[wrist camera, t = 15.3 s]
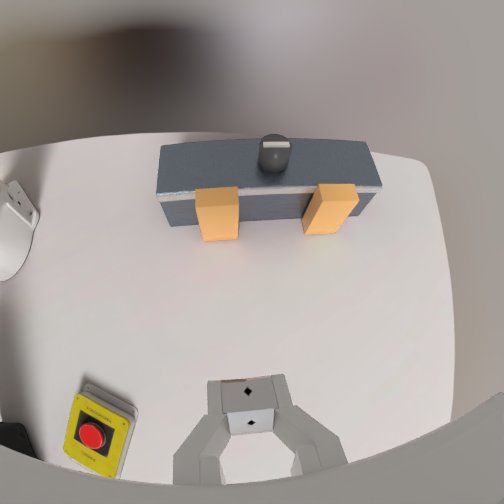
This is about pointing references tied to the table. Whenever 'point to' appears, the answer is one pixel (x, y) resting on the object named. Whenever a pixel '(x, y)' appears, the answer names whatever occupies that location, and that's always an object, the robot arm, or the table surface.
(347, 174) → the mount
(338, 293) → the table surface
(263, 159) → the dial
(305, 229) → the knob
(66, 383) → the table surface
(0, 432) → the black box
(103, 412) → the emergency button
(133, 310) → the table surface
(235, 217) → the knob
